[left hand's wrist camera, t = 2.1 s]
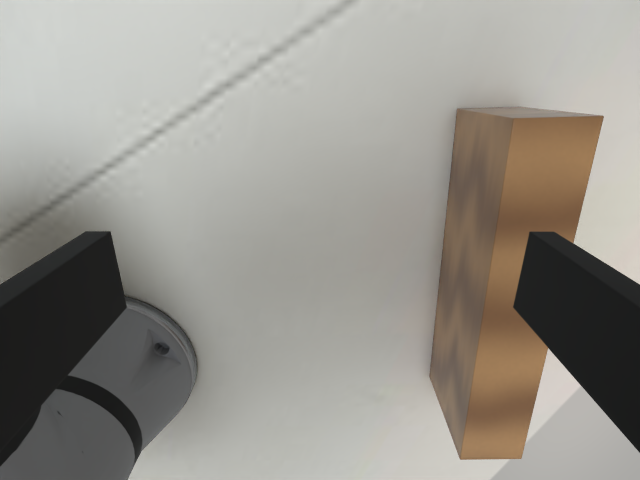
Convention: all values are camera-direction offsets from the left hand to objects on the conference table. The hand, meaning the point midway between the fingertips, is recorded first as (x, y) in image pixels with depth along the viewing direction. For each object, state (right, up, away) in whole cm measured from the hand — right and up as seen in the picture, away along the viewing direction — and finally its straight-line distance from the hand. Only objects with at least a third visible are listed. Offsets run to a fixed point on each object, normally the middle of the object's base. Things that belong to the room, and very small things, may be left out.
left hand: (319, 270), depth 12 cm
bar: (+13, -1, +22) cm, 26 cm away
